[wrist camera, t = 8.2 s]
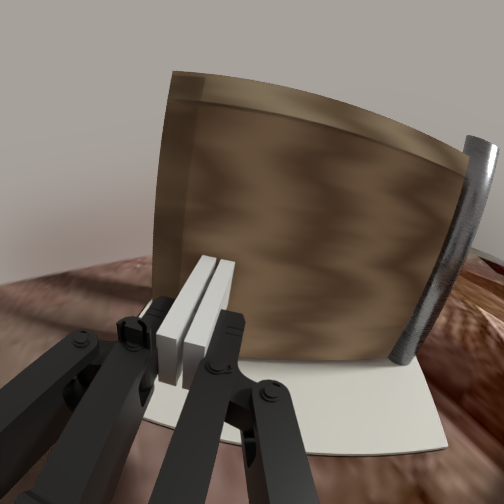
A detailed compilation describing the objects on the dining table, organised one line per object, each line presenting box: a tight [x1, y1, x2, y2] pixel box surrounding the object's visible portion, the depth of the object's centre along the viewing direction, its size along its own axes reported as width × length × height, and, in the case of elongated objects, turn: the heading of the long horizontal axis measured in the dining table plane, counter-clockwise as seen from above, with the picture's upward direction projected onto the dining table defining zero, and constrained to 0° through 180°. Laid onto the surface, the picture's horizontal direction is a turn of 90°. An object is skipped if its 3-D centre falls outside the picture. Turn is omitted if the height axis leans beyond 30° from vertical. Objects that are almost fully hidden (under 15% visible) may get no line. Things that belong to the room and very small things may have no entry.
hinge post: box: [388, 135, 499, 366], centre depth 18 cm, size 3×3×19 cm
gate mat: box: [139, 299, 448, 456], centre depth 20 cm, size 24×14×1 cm, turn 83°
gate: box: [152, 71, 470, 360], centre depth 17 cm, size 18×2×17 cm, turn 94°
